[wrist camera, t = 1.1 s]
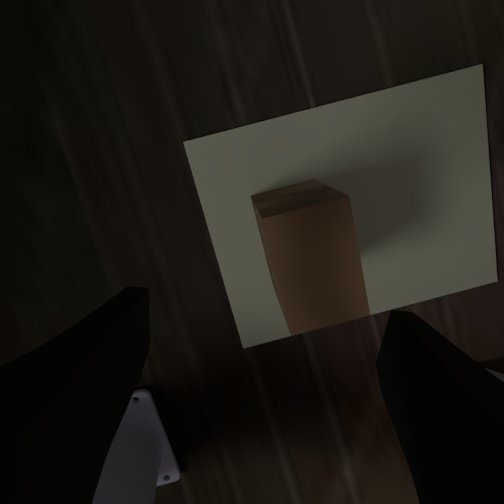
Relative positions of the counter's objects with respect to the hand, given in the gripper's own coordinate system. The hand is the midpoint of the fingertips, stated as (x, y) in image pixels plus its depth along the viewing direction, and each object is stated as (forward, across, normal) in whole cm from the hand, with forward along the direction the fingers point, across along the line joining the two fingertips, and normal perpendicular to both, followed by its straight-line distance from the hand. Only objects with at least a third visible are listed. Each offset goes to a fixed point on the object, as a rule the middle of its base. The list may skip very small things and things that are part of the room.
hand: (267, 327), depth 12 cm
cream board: (+14, -6, +1) cm, 15 cm away
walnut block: (+14, -2, +3) cm, 14 cm away
